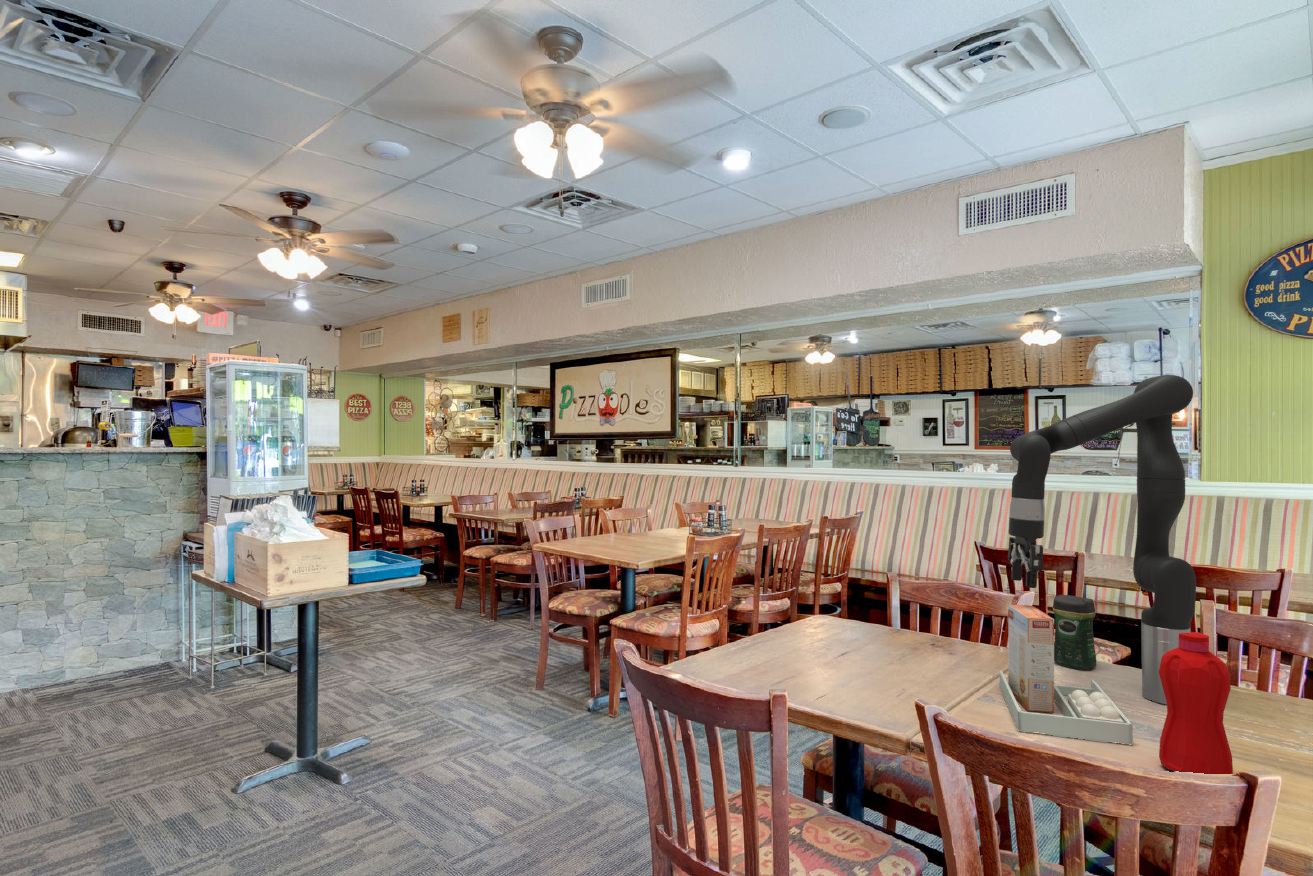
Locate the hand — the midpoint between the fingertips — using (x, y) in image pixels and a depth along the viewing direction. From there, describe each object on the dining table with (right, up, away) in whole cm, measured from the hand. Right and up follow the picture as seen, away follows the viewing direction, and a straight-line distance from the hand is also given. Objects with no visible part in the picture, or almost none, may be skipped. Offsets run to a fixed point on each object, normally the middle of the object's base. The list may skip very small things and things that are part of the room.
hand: (1023, 583), depth 167 cm
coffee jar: (+24, -26, +19) cm, 40 cm away
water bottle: (+8, -25, -42) cm, 50 cm away
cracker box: (-3, -26, -8) cm, 27 cm away
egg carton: (+3, -25, -23) cm, 34 cm away
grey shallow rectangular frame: (0, -25, -15) cm, 30 cm away
